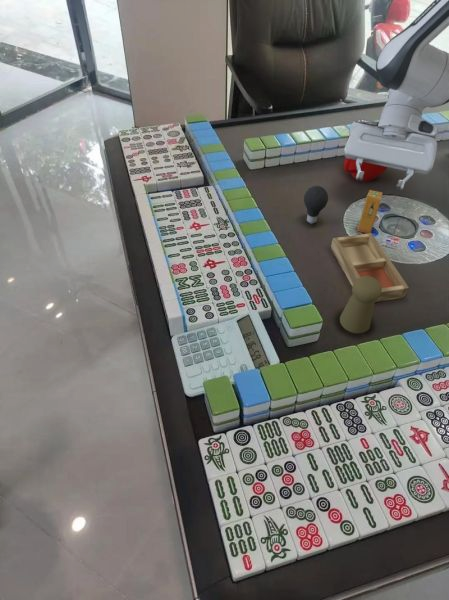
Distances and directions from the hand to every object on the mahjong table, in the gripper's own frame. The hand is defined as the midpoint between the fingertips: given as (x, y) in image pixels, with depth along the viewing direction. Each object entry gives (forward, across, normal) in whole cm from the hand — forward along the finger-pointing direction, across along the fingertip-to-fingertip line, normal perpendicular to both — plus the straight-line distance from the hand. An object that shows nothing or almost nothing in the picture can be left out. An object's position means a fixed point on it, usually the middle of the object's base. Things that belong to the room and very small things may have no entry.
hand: (378, 184), depth 101 cm
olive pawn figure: (+32, +4, -18) cm, 37 cm away
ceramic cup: (-5, -6, +19) cm, 21 cm away
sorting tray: (+21, +3, -7) cm, 22 cm away
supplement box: (+11, 0, +3) cm, 11 cm away
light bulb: (+13, -13, +2) cm, 18 cm away
